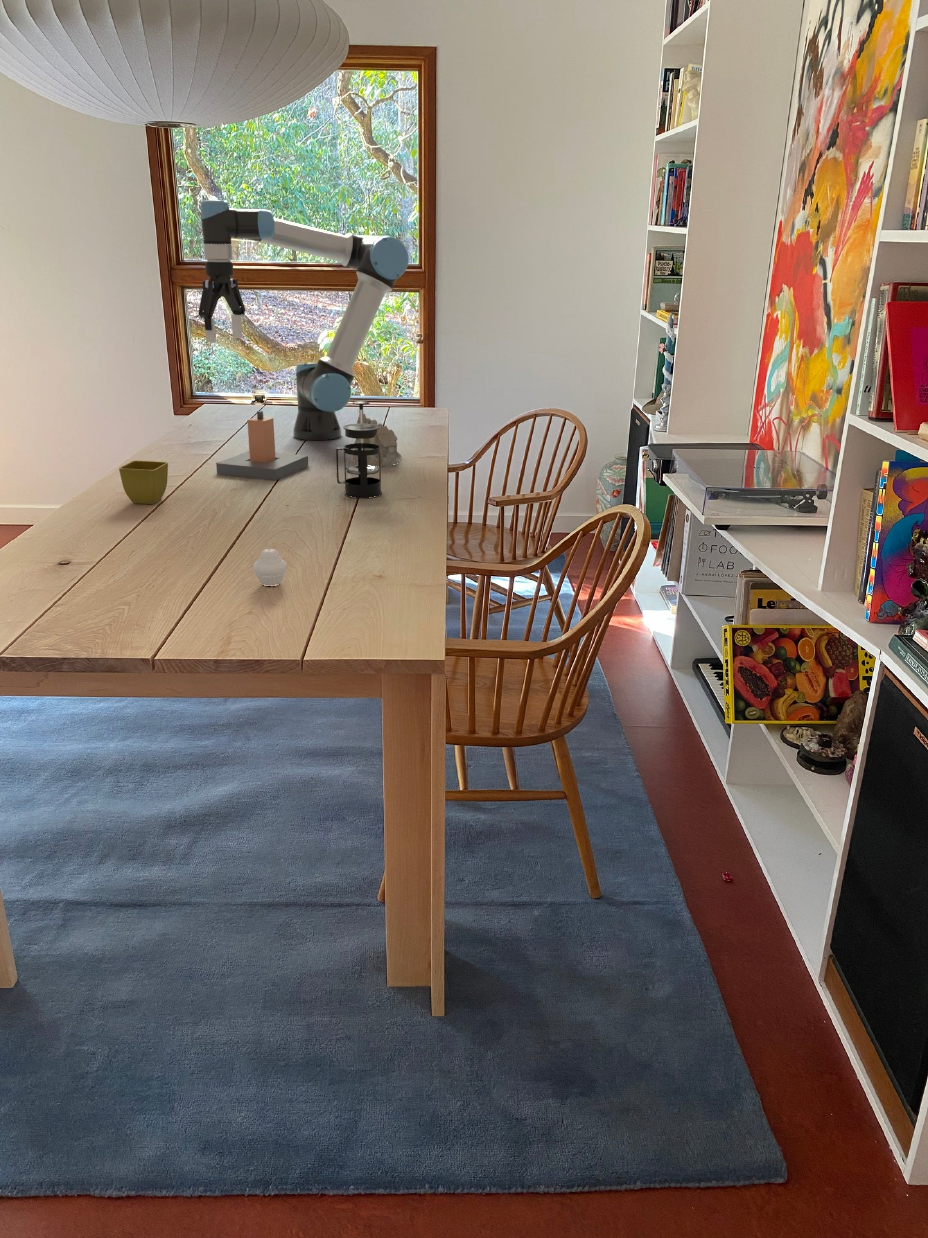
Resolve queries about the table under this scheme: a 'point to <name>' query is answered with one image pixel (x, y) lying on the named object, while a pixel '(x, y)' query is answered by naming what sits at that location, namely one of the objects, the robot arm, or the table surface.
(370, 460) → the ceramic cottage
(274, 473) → the socket
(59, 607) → the table surface
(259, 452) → the plug
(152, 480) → the flower pot
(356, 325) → the robot arm
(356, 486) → the french press
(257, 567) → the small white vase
